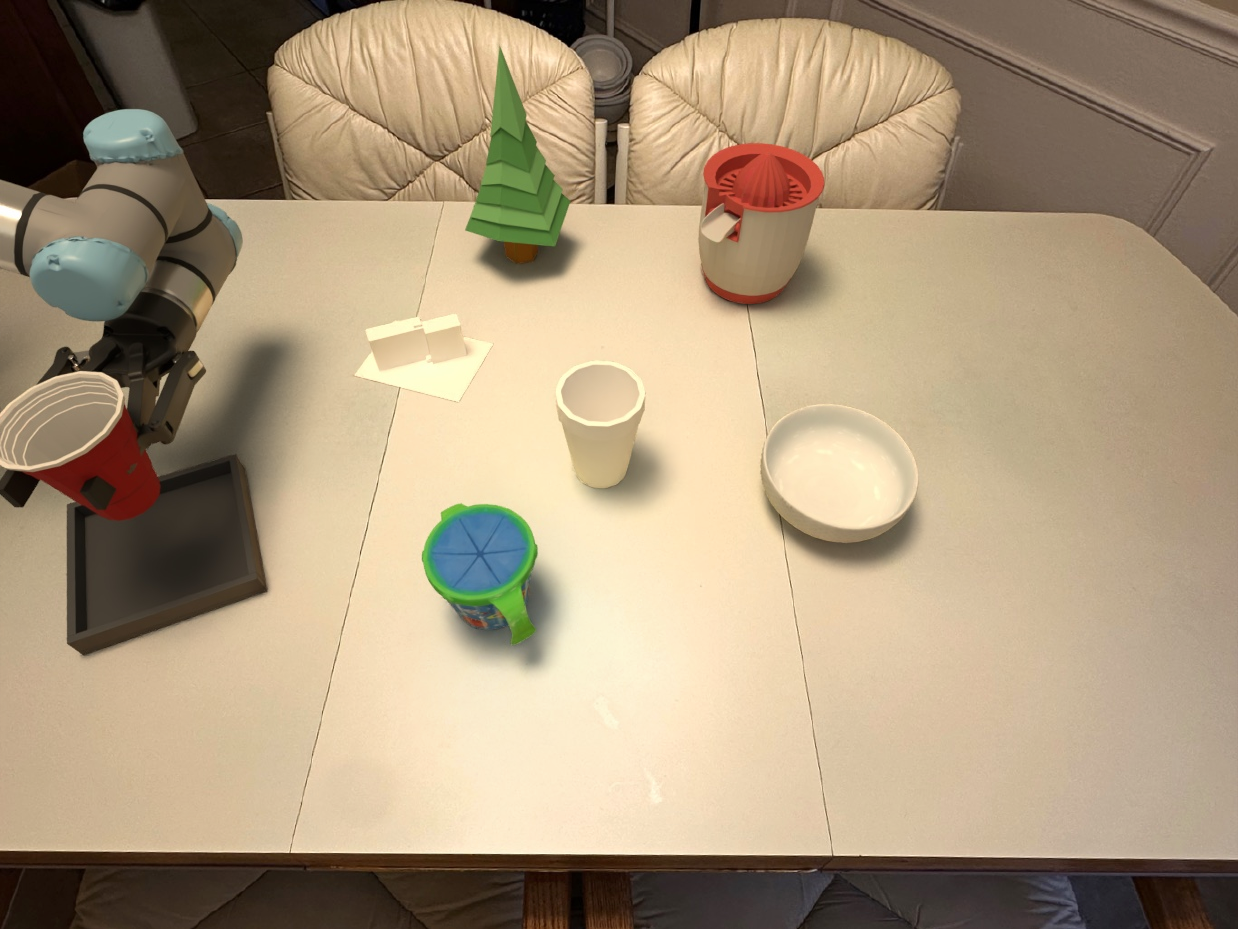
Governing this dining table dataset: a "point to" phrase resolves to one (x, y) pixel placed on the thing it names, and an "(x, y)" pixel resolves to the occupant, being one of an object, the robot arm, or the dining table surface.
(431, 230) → the dining table surface
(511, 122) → the decorative tree
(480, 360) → the napkin holder
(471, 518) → the snack cup
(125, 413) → the plastic cup
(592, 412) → the foam cup
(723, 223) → the citrus juicer
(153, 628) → the tray
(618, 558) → the dining table surface
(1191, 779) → the dining table surface
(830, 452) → the cereal bowl
